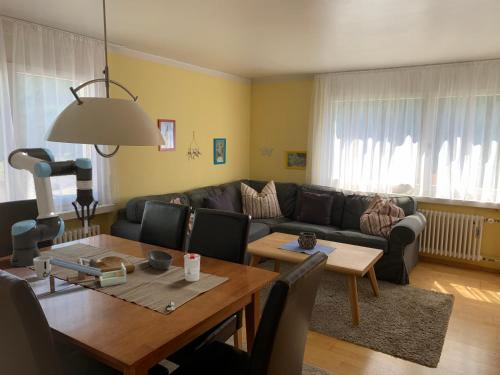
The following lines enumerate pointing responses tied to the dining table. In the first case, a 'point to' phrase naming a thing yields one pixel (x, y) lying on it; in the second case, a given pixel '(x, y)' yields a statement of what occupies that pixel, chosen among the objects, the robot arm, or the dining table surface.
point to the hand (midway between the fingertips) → (86, 232)
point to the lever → (77, 265)
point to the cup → (42, 266)
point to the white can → (192, 267)
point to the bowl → (159, 259)
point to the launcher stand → (72, 279)
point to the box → (113, 277)
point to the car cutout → (170, 305)
